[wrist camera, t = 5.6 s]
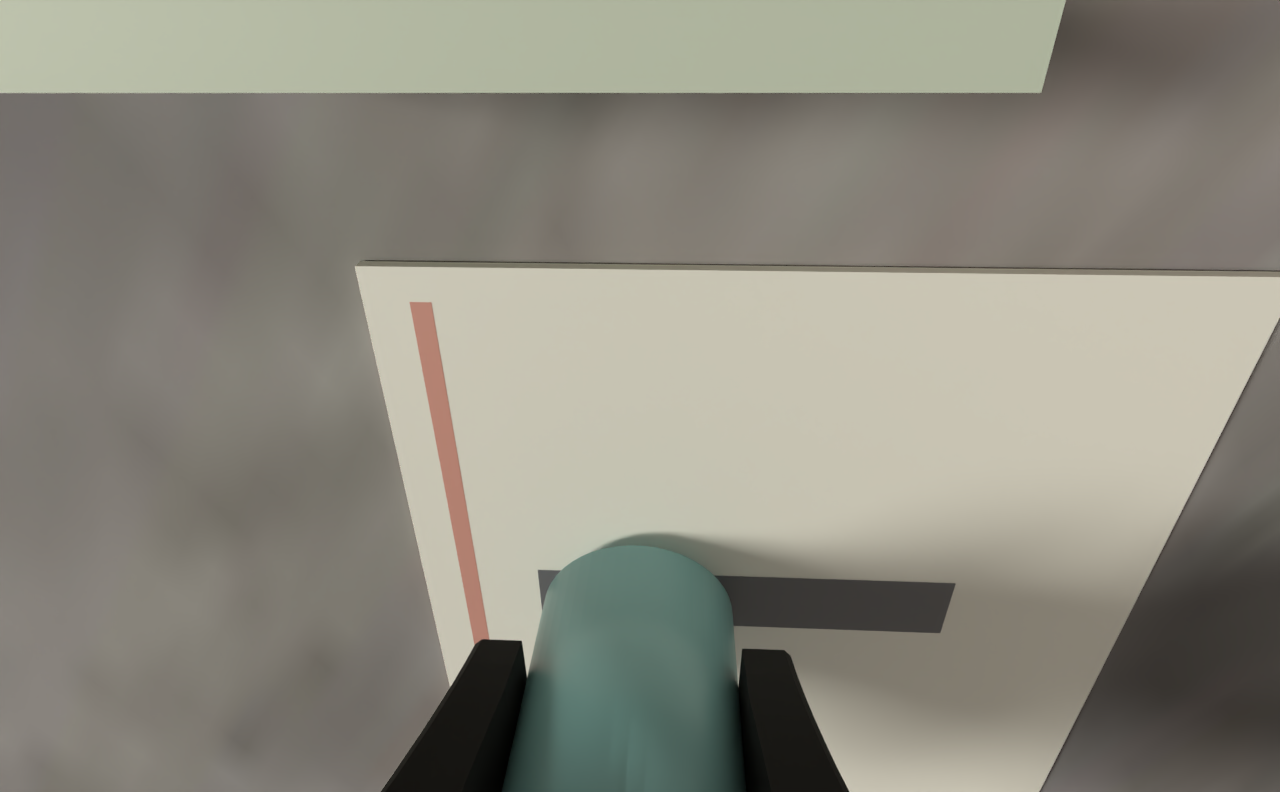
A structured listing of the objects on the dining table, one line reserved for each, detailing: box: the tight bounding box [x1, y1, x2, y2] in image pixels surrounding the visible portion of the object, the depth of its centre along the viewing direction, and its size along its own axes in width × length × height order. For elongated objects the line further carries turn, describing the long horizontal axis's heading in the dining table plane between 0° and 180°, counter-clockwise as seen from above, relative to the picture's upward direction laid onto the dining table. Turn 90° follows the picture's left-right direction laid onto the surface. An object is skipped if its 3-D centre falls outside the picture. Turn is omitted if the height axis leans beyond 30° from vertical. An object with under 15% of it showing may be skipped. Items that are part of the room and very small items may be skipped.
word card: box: [0, 0, 1066, 93], centre depth 6 cm, size 8×1×5 cm, turn 90°
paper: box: [355, 261, 1280, 792], centre depth 12 cm, size 12×12×1 cm
